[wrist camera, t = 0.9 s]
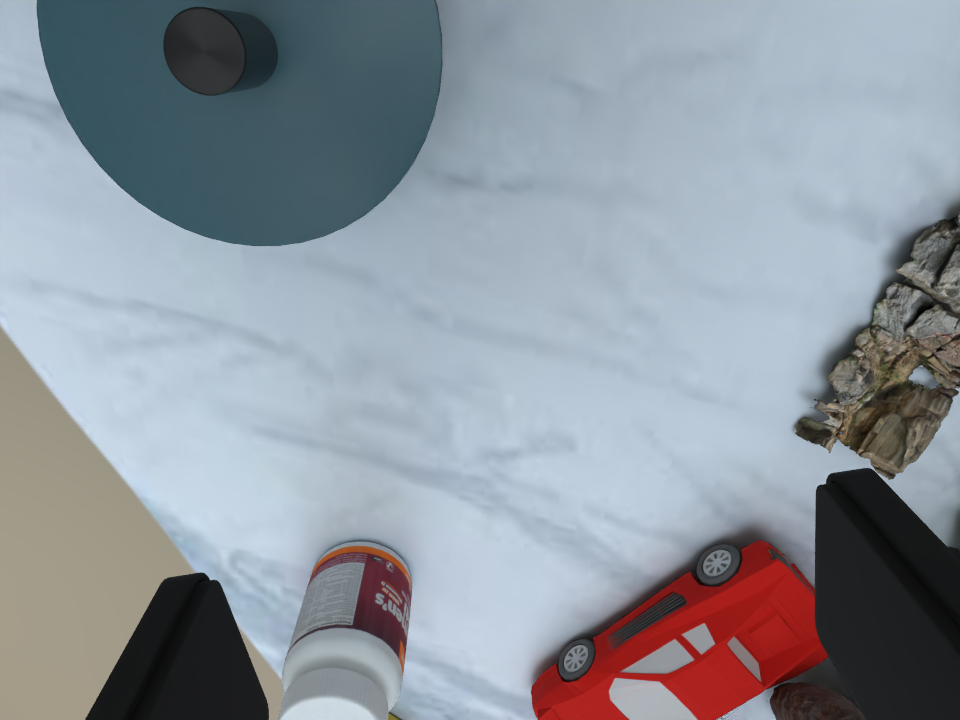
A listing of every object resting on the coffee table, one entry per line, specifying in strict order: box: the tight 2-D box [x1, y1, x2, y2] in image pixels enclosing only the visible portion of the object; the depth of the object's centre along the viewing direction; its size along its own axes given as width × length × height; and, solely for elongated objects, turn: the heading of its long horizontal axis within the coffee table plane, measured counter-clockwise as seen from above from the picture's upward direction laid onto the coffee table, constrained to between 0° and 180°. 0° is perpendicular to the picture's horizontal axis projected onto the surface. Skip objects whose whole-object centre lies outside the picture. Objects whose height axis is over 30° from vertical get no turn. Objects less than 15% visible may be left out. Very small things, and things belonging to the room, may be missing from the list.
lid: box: [37, 0, 443, 246], centre depth 24 cm, size 14×14×5 cm
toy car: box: [531, 540, 829, 720], centre depth 45 cm, size 9×19×5 cm, turn 130°
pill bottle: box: [278, 541, 412, 720], centre depth 40 cm, size 6×6×11 cm
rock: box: [795, 212, 960, 480], centre depth 38 cm, size 8×15×4 cm, turn 140°
